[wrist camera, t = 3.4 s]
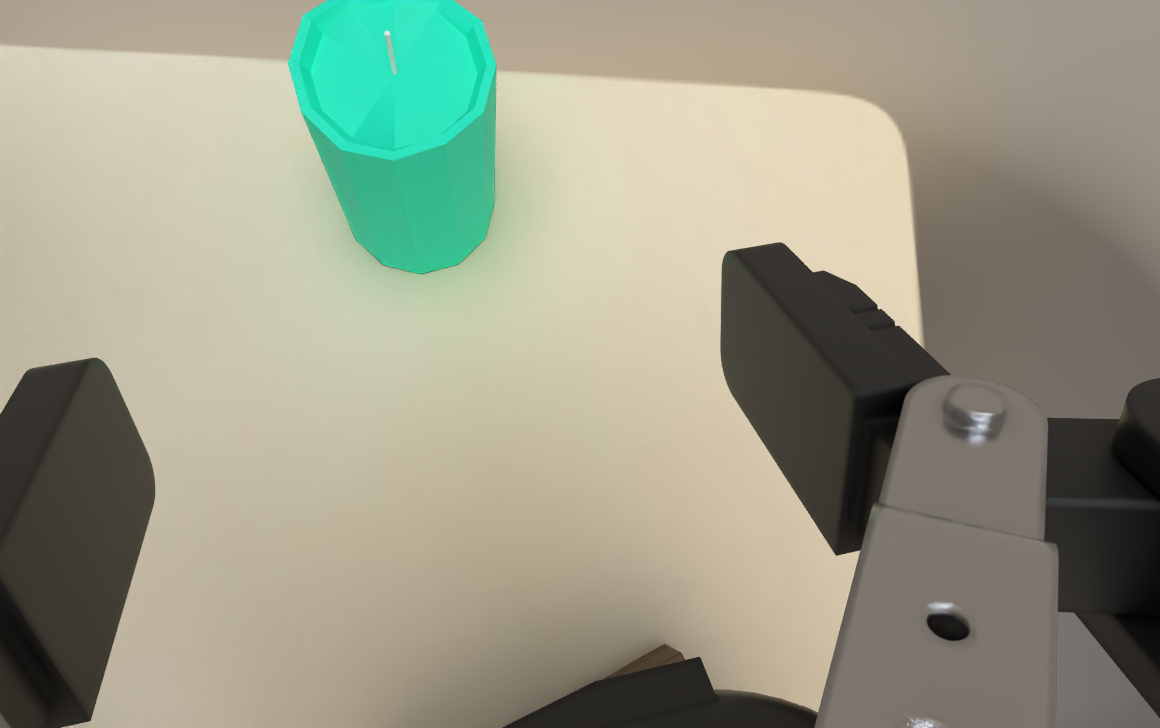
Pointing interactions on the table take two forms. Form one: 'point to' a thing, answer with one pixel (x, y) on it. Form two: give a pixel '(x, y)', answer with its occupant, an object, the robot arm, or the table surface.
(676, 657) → the tray
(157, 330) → the table surface
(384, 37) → the candle
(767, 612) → the table surface
